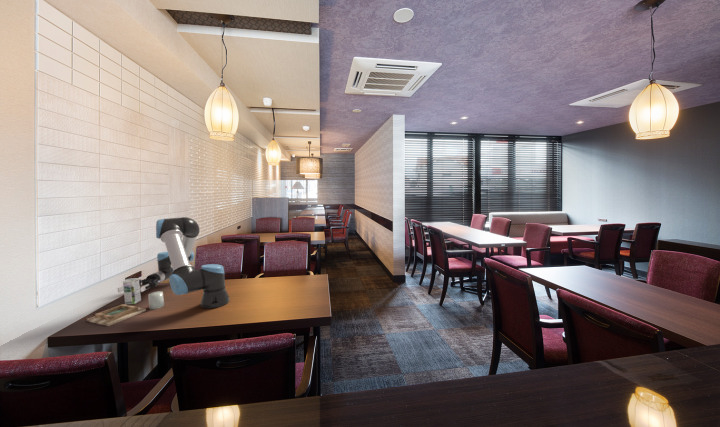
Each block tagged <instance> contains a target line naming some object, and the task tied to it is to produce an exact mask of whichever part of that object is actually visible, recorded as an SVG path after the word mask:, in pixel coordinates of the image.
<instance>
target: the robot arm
mask: <svg viewBox="0 0 720 427" xmlns="http://www.w3.org/2000/svg"><path fill="white" fill-rule="evenodd" d="M155 224H156V226H155V238H156V239H159V240H161V242H162V243H165V248H166V250H167V251H162V252H158V253H157V255H156V257H157V260H156V261H157V269H158V271H156V272H154V273H151V274H149V275H147V276H146V278H144V279H141V278H140V279H139V285H140V293H143V292H145V291H147V290H149V289H150V288H156V287H158V285H159V284H161V283H162V282H165V281H166V280H168V282H169V284H170V288H171V291H172V292H173V294H174V295H176V296H181V295H186V294H190V293H193V292H198V291H202V292H203V293H202V296H201V297H202V298H201V301H200V307H201V308H202V309H214V308H215V309H216V308H220V307H223V306H225V305H227V304H228V303H229V302H230V296H229V294H228V292H227V289H226V281H225V269H224V266H223V265H222V264H218V263H217V264H215V263H211V264H204V265H203V264H202V265H201V267H200V268H198V269H196V268H195V266H194V265H192V264H191V263H190V262H192V261H194V259H195V254H194V251H193V249H194V246H195V243H196V242H195V241H196V239H197V237H198V236H199V235H200V230H201V229H200V226H199V223H198V222H197V221H195V219H193V218H190V217H187V216H182V217H174V218H173V217H171V218H170V217H169V218H161V219H158V220H157V221H156V223H155ZM122 292H124V288H123V285H122V286H119V287H117V293H122Z"/></svg>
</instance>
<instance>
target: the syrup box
mask: <svg viewBox="0 0 720 427" xmlns="http://www.w3.org/2000/svg"><path fill="white" fill-rule="evenodd" d="M122 286H123V288H124V291H123V295H124V304H125V305H135V304H137V303H139V302H141V300H142V296H141V292H140V287H141V286H140V285H139V277H137V278H127V279H124V280H123V281H122Z"/></svg>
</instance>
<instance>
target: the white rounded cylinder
mask: <svg viewBox="0 0 720 427" xmlns="http://www.w3.org/2000/svg"><path fill="white" fill-rule="evenodd" d="M147 296H148V298H147V299H148V307H149V310H157V309H161V308H163V307H164V306H165V299H164V291H161V290H160V291H158V290H157V291H153V292H150V293H148V295H147Z"/></svg>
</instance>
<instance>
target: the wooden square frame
mask: <svg viewBox="0 0 720 427" xmlns="http://www.w3.org/2000/svg"><path fill="white" fill-rule="evenodd" d="M146 311H147V310H146V308H142V307H138V306H135V305H131V304H125V303H122V304H119V305H116V306H113V307H110V308H107V309H105V310H103V311H100V312H97V313H95V314H94V316H91V317H89V318H88V317H87V318H86V321H87V322H89V323H93V324H97V325H101V326H102V325H103V326H106V327H110V326H113V325H114V324H117V323H119V322H122V321H124V320H127V319H129V318H132V317H134V316H137V315H139V314H143V313H144V312H146Z"/></svg>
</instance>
